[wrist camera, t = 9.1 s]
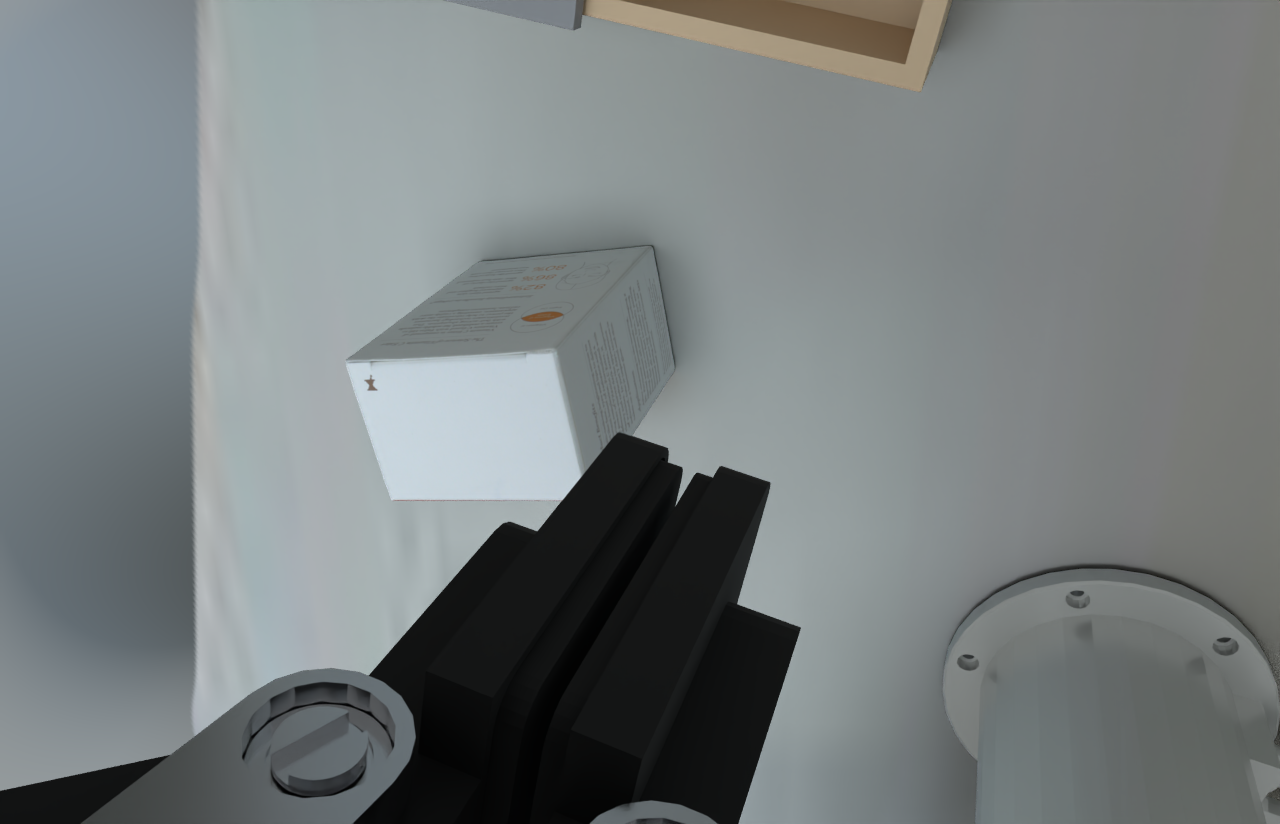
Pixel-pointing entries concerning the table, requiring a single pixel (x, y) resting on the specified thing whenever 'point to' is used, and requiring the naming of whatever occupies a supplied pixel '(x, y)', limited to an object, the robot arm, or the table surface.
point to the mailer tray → (803, 31)
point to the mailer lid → (535, 10)
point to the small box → (515, 376)
